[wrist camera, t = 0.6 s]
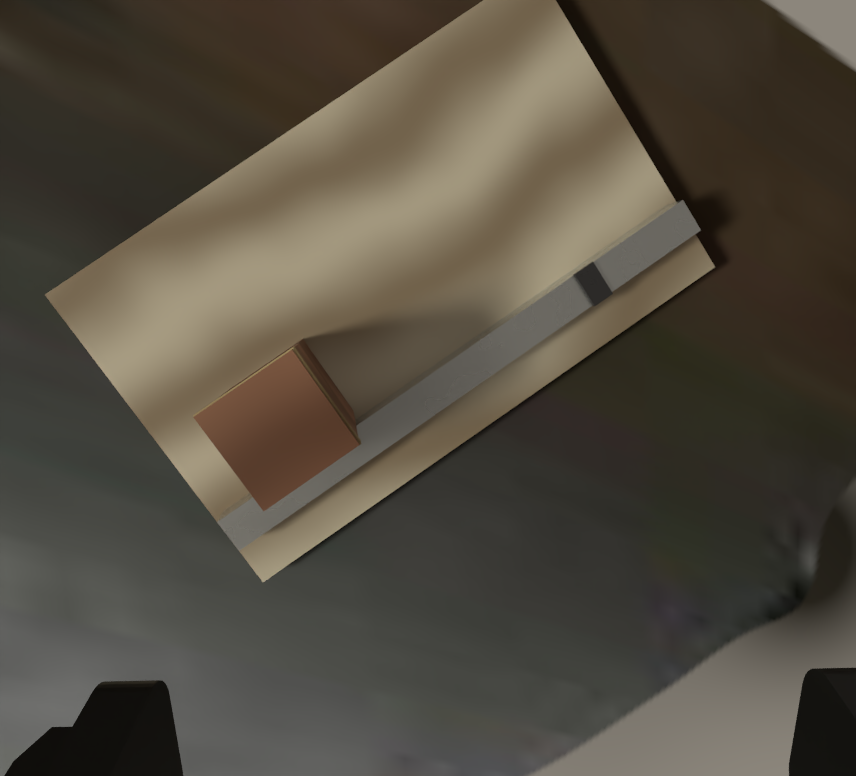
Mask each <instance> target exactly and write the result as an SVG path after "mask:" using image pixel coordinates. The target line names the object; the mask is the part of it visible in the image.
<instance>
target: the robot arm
mask: <svg viewBox="0 0 856 776" xmlns="http://www.w3.org/2000/svg"><path fill="white" fill-rule="evenodd" d="M5 776H183V771H182V765H181V759H180V753H179V747H178V742H177V736H176V730H175V724H174V718H173V712H172V707H171V701H170V695H169V691H168V688H167V685H166V684H165V683H164V682H163V681H114V682H101V683H100V684H98V686H97V687H96V688H95V689H94V691H93V692H92V694H91V695H90V697H89V699H88V701H87V702H86V704H85V706H84V708H83V709H82V711H81V713H80V715H79V716H78V718H77V720H76V722H75V723H74V725H73V727H52V728H51V729H49V730H48V731H47V732H46V733H45V734H44V735H43V736H42V737H40V738H39V739H38V740H37V741H36V742H35V743H34V744H33V745H31V746H30V747H29V748H28V749H27V750H26V751H25V752H24V753H22V754H21V755H20V756H19V757H18V758H17V759H16V760H15V761H13V763H12V765H11V766H10V768H9V769H8V771H7V773H6V774H5ZM789 776H856V668H827V669H826V668H825V669H824V668H823V669H811V670H809V671H808V672H807V674H806V675H805V677H804V681H803V684H802V691H801V696H800V702H799V708H798V714H797V720H796V726H795V732H794V738H793V744H792V749H791V755H790V762H789Z"/></svg>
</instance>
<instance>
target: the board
mask: <svg viewBox="0 0 856 776" xmlns="http://www.w3.org/2000/svg"><path fill="white" fill-rule="evenodd" d="M674 202H676V201H675V199H674V197H673V196H672V194H671V192H670V191H669V189H668V187H667V186H666V184H665V182H664V181H663V179H662V177H661V176H660V174H659V172H658V171H657V169H656V167H655V165H654V164H653V162H652V160H651V159H650V157H649V155H648V154H647V152H646V150H645V149H644V147H643V145H642V144H641V142H640V140H639V139H638V137H637V135H636V134H635V132H634V130H633V129H632V127H631V125H630V124H629V122H628V120H627V119H626V117H625V115H624V114H623V112H622V110H621V109H620V107H619V105H618V104H617V102H616V100H615V99H614V97H613V95H612V94H611V92H610V90H609V88H608V87H607V85H606V83H605V82H604V80H603V78H602V77H601V75H600V73H599V72H598V70H597V68H596V67H595V65H594V63H593V62H592V60H591V58H590V57H589V55H588V53H587V52H586V50H585V48H584V47H583V45H582V43H581V42H580V40H579V38H578V37H577V35H576V33H575V32H574V30H573V28H572V27H571V25H570V23H569V22H568V20H567V18H566V17H565V15H564V13H563V11H562V10H561V8H560V6H559V5H558V3H557V1H556V0H483V1H482V2H480V3H479V4H477V5H476V6H474V7H473V8H471V9H470V10H468V11H467V12H465V13H464V14H462V15H461V16H459V17H458V18H456V19H455V20H453V21H452V22H451V23H449V24H448V25H446V26H445V27H443V28H442V29H440V30H439V31H437V32H436V33H434V34H433V35H431V36H430V37H428V38H427V39H425V40H424V41H422V42H421V43H419V44H418V45H416V46H415V47H413V48H412V49H410V50H409V51H407V52H406V53H404V54H403V55H401V56H400V57H398V58H397V59H395V60H394V61H392V62H391V63H389V64H388V65H386V66H385V67H383V68H382V69H380V70H379V71H378V72H376V73H375V74H373V75H372V76H370V77H369V78H367V79H366V80H364V81H363V82H361V83H360V84H358V85H357V86H355V87H354V88H352V89H351V90H349V91H348V92H346V93H345V94H343V95H342V96H340V97H339V98H337V99H336V100H334V101H333V102H331V103H330V104H328V105H327V106H325V107H324V108H322V109H321V110H319V111H318V112H316V113H315V114H313V115H312V116H310V117H309V118H307V119H306V120H304V121H303V122H302V123H300V124H299V125H297V126H296V127H294V128H293V129H291V130H290V131H288V132H287V133H285V134H284V135H282V136H281V137H279V138H278V139H276V140H275V141H273V142H272V143H270V144H269V145H267V146H266V147H264V148H263V149H261V150H260V151H258V152H257V153H255V154H254V155H252V156H251V157H249V158H248V159H246V160H245V161H243V162H242V163H240V164H239V165H237V166H236V167H234V168H233V169H231V170H230V171H228V172H227V173H226V174H224V175H223V176H221V177H220V178H218V179H217V180H215V181H214V182H212V183H211V184H209V185H208V186H206V187H205V188H203V189H202V190H200V191H199V192H197V193H196V194H194V195H193V196H191V197H190V198H188V199H187V200H185V201H184V202H182V203H181V204H179V205H178V206H176V207H175V208H173V209H172V210H170V211H169V212H167V213H166V214H164V215H163V216H161V217H160V218H158V219H157V220H155V221H154V222H153V223H151V224H150V225H148V226H147V227H145V228H144V229H142V230H141V231H139V232H138V233H136V234H135V235H133V236H132V237H130V238H129V239H127V240H126V241H124V242H123V243H121V244H120V245H118V246H117V247H115V248H114V249H112V250H111V251H109V252H108V253H106V254H105V255H103V256H102V257H100V258H99V259H97V260H96V261H94V262H93V263H91V264H90V265H88V266H87V267H85V268H84V269H82V270H81V271H79V272H78V273H77V274H75V275H74V276H72V277H71V278H69V279H68V280H66V281H65V282H63V283H62V284H60V285H59V286H57V287H56V288H54V289H53V290H51V291H50V292H48V293H47V294H45V296H46V297H47V298H48V300H49V301H50V302H51V303H52V305H53V306H54V307H55V309H56V310H57V311H58V313H59V314H60V315H61V317H62V318H63V319H64V321H65V322H66V323H67V325H68V326H69V327H70V329H71V330H72V331H73V332H74V334H75V335H76V336H77V338H78V339H79V340H80V342H81V343H82V344H83V346H84V347H85V348H86V350H87V351H88V352H89V354H90V355H91V356H92V358H93V359H94V360H95V361H96V363H97V364H98V365H99V367H100V368H101V369H102V371H103V372H104V373H105V375H106V376H107V377H108V379H109V380H110V381H111V383H112V384H113V385H114V387H115V388H116V389H117V390H118V392H119V393H120V394H121V396H122V397H123V398H124V400H125V401H126V402H127V404H128V405H129V406H130V408H131V409H132V410H133V412H134V413H135V414H136V416H137V417H138V418H139V419H140V421H141V422H142V423H143V425H144V426H145V427H146V429H147V430H148V431H149V433H150V434H151V435H152V437H153V438H154V439H155V441H156V442H157V443H158V445H159V446H160V447H161V448H162V450H163V451H164V452H165V454H166V455H167V456H168V458H169V459H170V460H171V462H172V463H173V464H174V466H175V467H176V468H177V470H178V471H179V472H180V474H181V475H182V476H183V477H184V479H185V480H186V481H187V483H188V484H189V485H190V487H191V488H192V489H193V491H194V492H195V493H196V495H197V496H198V497H199V499H200V500H201V501H202V503H203V504H204V505H205V506H206V508H207V509H208V510H209V512H210V513H211V514H212V516H213V517H214V518H215V520H216V521H218V520H219V518H220V516H221V514H222V512H223V511H224V510H226V509H227V508H229V507H230V506H231V505H233V504H234V503H236V502H237V501H239V500H240V499H242V498H243V497H244V496H246V495H247V494H249V491H248V490H247V489H246V487H245V486H244V485H243V483H242V482H241V481H240V479H239V478H238V477H237V475H236V474H235V473H234V471H233V470H232V469H231V467H230V466H229V464H228V463H227V462H226V460H225V459H224V458H223V456H222V455H221V454H220V452H219V451H218V450H217V448H216V447H215V446H214V444H213V443H212V442H211V440H210V439H209V438H208V436H207V435H206V434H205V432H204V431H203V430H202V428H201V427H200V426H199V424H198V423H197V422H196V420H195V419H194V418H193V415H194V414H196V413H197V412H198V411H200V410H201V409H203V408H204V407H206V406H207V405H209V404H210V403H211V402H213V401H214V400H216V399H217V398H219V397H220V396H221V395H222V394H224V393H225V392H226V391H228V390H229V389H230V388H232V387H233V386H235V385H236V384H238V383H239V382H240V381H242V380H243V379H245V378H246V377H248V376H249V375H251V374H252V373H254V372H255V371H257V370H258V369H259V368H261V367H262V366H264V365H265V364H267V363H268V362H270V361H271V360H273V359H274V358H276V357H277V356H278V355H280V354H281V353H283V352H284V351H286V350H287V349H289V348H290V347H292V346H293V345H295V344H296V343H297V342H299V341H300V340H302V339H303V340H304V341H305V343H306V344H307V345H308V347H309V348H310V350H311V351H312V353H313V354H314V355H315V357H316V358H317V360H318V361H319V362H320V364H321V365H322V367H323V368H324V370H325V371H326V372H327V374H328V375H329V377H330V378H331V379H332V381H333V382H334V384H335V385H336V387H337V388H338V389H339V391H340V392H341V394H342V395H343V396H344V398H345V399H346V401H347V402H348V404H349V405H350V406H351V408H352V409H353V411H354V416H355V420H356V419H357V418H359V417H360V416H362V415H363V414H364V413H366V412H367V411H369V410H370V409H372V408H373V407H375V406H376V405H377V404H379V403H380V402H382V401H383V400H385V399H386V398H388V397H389V396H391V395H392V394H393V393H395V392H396V391H398V390H399V389H401V388H402V387H404V386H405V385H406V384H408V383H409V382H411V381H412V380H414V379H415V378H417V377H418V376H419V375H421V374H422V373H424V372H425V371H427V370H428V369H430V368H431V367H432V366H434V365H435V364H437V363H438V362H440V361H441V360H443V359H444V358H445V357H447V356H448V355H450V354H451V353H453V352H454V351H456V350H457V349H458V348H460V347H461V346H463V345H464V344H466V343H467V342H469V341H470V340H472V339H473V338H474V337H476V336H477V335H479V334H480V333H482V332H483V331H485V330H486V329H487V328H489V327H490V326H492V325H493V324H495V323H496V322H498V321H499V320H500V319H502V318H503V317H505V316H506V315H508V314H509V313H511V312H512V311H513V310H515V309H516V308H518V307H519V306H521V305H522V304H524V303H525V302H526V301H528V300H529V299H531V298H532V297H534V296H535V295H537V294H538V293H539V292H541V291H542V290H544V289H545V288H547V287H548V286H550V285H551V284H552V283H554V282H555V281H557V280H558V279H560V278H561V277H563V276H564V275H566V274H567V273H568V272H570V271H571V270H573V269H574V268H576V267H577V266H579V265H580V264H581V263H583V262H584V261H586V260H587V259H589V258H590V257H592V256H593V255H594V254H596V253H597V252H599V251H600V250H602V249H603V248H605V247H606V246H607V245H609V244H610V243H612V242H613V241H615V240H616V239H618V238H619V237H620V236H622V235H623V234H625V233H626V232H628V231H629V230H631V229H632V228H633V227H635V226H636V225H638V224H639V223H641V222H642V221H644V220H645V219H647V218H648V217H649V216H651V215H652V214H654V213H655V212H657V211H658V210H660V209H661V208H662V207H664V206H665V205H668V204H671V203H674ZM714 267H715V266H714V264H713V263H712V261H711V259H710V258H709V256H708V254H707V253H706V251H705V249H704V248H703V246H702V244H701V242H700V241H699V239H698V237H697V236H696V234H695V235H693V236H692V237H690V238H689V239H688V240H686V241H685V242H683V243H682V244H680V245H679V246H677V247H676V248H675V249H673V250H672V251H670V252H669V253H667V254H666V255H665V256H663V257H662V258H660V259H659V260H657V261H656V262H654V263H653V264H652V265H650V266H649V267H647V268H646V269H644V270H643V271H641V272H640V273H639V274H637V275H636V276H634V277H633V278H631V279H630V280H629V281H627V282H626V283H624V284H623V285H621V286H620V287H618V288H617V289H616V290H614V291H613V292H612V293H613V294H612V295H611V296H609V297H608V298H606V299H605V300H603V301H602V302H601V303H599V304H598V305H596V306H591V307H590V308H588V309H587V310H585V311H584V312H582V313H581V314H580V315H578V316H577V317H575V318H574V319H572V320H571V321H569V322H568V323H567V324H565V325H564V326H562V327H561V328H559V329H558V330H557V331H555V332H554V333H552V334H551V335H549V336H548V337H546V338H545V339H544V340H542V341H541V342H539V343H538V344H536V345H535V346H533V347H532V348H531V349H529V350H528V351H526V352H525V353H523V354H522V355H521V356H519V357H518V358H516V359H515V360H513V361H512V362H510V363H509V364H508V365H506V366H505V367H503V368H502V369H500V370H499V371H498V372H496V373H495V374H493V375H492V376H490V377H489V378H487V379H486V380H485V381H483V382H482V383H480V384H479V385H477V386H476V387H474V388H473V389H472V390H470V391H469V392H467V393H466V394H464V395H463V396H462V397H460V398H459V399H457V400H456V401H454V402H453V403H451V404H450V405H449V406H447V407H446V408H444V409H443V410H441V411H440V412H438V413H437V414H436V415H434V416H433V417H431V418H430V419H428V420H427V421H426V422H424V423H423V424H421V425H420V426H418V427H417V428H415V429H414V430H413V431H411V432H410V433H408V434H407V435H405V436H404V437H402V438H401V439H400V440H398V441H397V442H395V443H394V444H392V445H391V446H390V447H388V448H387V449H385V450H384V451H382V452H381V453H379V454H378V455H377V456H375V457H374V458H372V459H371V460H369V461H368V462H366V463H365V464H364V465H362V466H361V467H359V468H358V469H356V470H355V471H354V472H352V473H351V474H349V475H348V476H346V477H345V478H343V479H342V480H341V481H339V482H338V483H336V484H335V485H333V486H332V487H330V488H329V489H328V490H326V491H325V492H323V493H322V494H320V495H319V496H318V497H316V498H315V499H313V500H312V501H310V502H309V503H307V504H306V505H305V506H303V507H302V508H300V509H299V510H297V511H296V512H294V513H293V514H292V515H290V516H289V517H287V518H286V519H284V520H283V521H282V522H280V523H279V524H277V525H276V526H274V527H273V528H271V529H270V530H269V531H267V532H266V533H264V534H263V535H261V536H260V537H258V538H257V539H256V540H254V541H253V542H251V543H250V544H248V545H247V546H246V547H244V548H243V549H241V550H240V553H241V554H242V555H243V557H244V558H245V559H246V561H247V562H248V563H249V564H250V566H251V567H252V568H253V570H254V571H255V572H256V574H257V575H258V576H259V578H260V579H261V580H262V582H264V581H266V580H267V579H269V578H270V577H271V576H273V575H274V574H276V573H277V572H279V571H280V570H281V569H283V568H284V567H286V566H287V565H289V564H290V563H291V562H293V561H294V560H296V559H297V558H299V557H300V556H301V555H303V554H304V553H306V552H307V551H309V550H310V549H312V548H313V547H314V546H316V545H317V544H319V543H320V542H322V541H323V540H324V539H326V538H327V537H329V536H330V535H332V534H333V533H334V532H336V531H337V530H339V529H340V528H342V527H343V526H345V525H346V524H347V523H349V522H350V521H352V520H353V519H355V518H356V517H357V516H359V515H360V514H362V513H363V512H365V511H366V510H367V509H369V508H370V507H372V506H373V505H375V504H376V503H377V502H379V501H380V500H382V499H383V498H385V497H386V496H388V495H389V494H390V493H392V492H393V491H395V490H396V489H398V488H399V487H400V486H402V485H403V484H405V483H406V482H408V481H409V480H410V479H412V478H413V477H415V476H416V475H418V474H419V473H421V472H422V471H423V470H425V469H426V468H428V467H429V466H431V465H432V464H433V463H435V462H436V461H438V460H439V459H441V458H442V457H443V456H445V455H446V454H448V453H449V452H451V451H452V450H453V449H455V448H456V447H458V446H459V445H461V444H462V443H464V442H465V441H466V440H468V439H469V438H471V437H472V436H474V435H475V434H476V433H478V432H479V431H481V430H482V429H484V428H485V427H486V426H488V425H489V424H491V423H492V422H494V421H495V420H497V419H498V418H499V417H501V416H502V415H504V414H505V413H507V412H508V411H509V410H511V409H512V408H514V407H515V406H517V405H518V404H519V403H521V402H522V401H524V400H525V399H527V398H528V397H529V396H531V395H532V394H534V393H535V392H537V391H538V390H540V389H541V388H542V387H544V386H545V385H547V384H548V383H550V382H551V381H552V380H554V379H555V378H557V377H558V376H560V375H561V374H562V373H564V372H565V371H567V370H568V369H570V368H571V367H572V366H574V365H575V364H577V363H578V362H580V361H581V360H583V359H584V358H585V357H587V356H588V355H590V354H591V353H593V352H594V351H595V350H597V349H598V348H600V347H601V346H603V345H604V344H605V343H607V342H608V341H610V340H611V339H613V338H614V337H616V336H617V335H618V334H620V333H621V332H623V331H624V330H626V329H627V328H628V327H630V326H631V325H633V324H634V323H636V322H637V321H638V320H640V319H641V318H643V317H644V316H646V315H647V314H648V313H650V312H651V311H653V310H654V309H656V308H657V307H659V306H660V305H661V304H663V303H664V302H666V301H667V300H669V299H670V298H671V297H673V296H674V295H676V294H677V293H679V292H680V291H681V290H683V289H684V288H686V287H687V286H689V285H690V284H692V283H693V282H694V281H696V280H697V279H699V278H700V277H702V276H703V275H704V274H706V273H707V272H709V271H710V270H712V269H713V268H714Z"/></svg>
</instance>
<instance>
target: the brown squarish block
mask: <svg viewBox="0 0 856 776" xmlns="http://www.w3.org/2000/svg"><path fill="white" fill-rule="evenodd" d="M193 418H194V419H195V420H196V422H197V423H198V424H199V426H200V427H201V428H202V430H203V431H204V432H205V434H206V435H207V436H208V438H209V439H210V440H211V442H212V443H213V444H214V446H215V447H216V448H217V450H218V451H219V452H220V454H221V455H222V456H223V458H224V459H225V460H226V462H227V463H228V464H229V466H230V467H231V469H232V470H233V471H234V473H235V474H236V475H237V477H238V478H239V479H240V481H241V482H242V483H243V485H244V486H245V487H246V489H247V490H248V491H249V493H250V494H251V495H252V497H253V498H254V499H255V501H256V502H257V503H258V505H259V506H260V507H261V509H262V510H263V511H265V510H267V509H268V508H270V507H271V506H272V505H274V504H275V503H277V502H278V501H280V500H281V499H283V498H284V497H285V496H287V495H288V494H290V493H291V492H293V491H294V490H296V489H297V488H298V487H300V486H301V485H303V484H304V483H306V482H307V481H308V480H310V479H311V478H313V477H314V476H316V475H317V474H319V473H320V472H321V471H323V470H324V469H326V468H327V467H329V466H330V465H332V464H333V463H334V462H336V461H337V460H339V459H340V458H342V457H343V456H345V455H346V454H347V453H349V452H350V451H352V450H353V449H355V448H356V447H358V446H359V445H360V444H361V440H360V438H359V437H358V433H357V427H356V422H355V416H354V411H353V409H352V408H351V406H350V405H349V404H348V402H347V401H346V399H345V398H344V396H343V395H342V394H341V392H340V391H339V389H338V388H337V387H336V385H335V384H334V382H333V381H332V379H331V378H330V377H329V375H328V374H327V372H326V371H325V370H324V368H323V367H322V365H321V364H320V362H319V361H318V360H317V358H316V357H315V355H314V354H313V353H312V351H311V350H310V348H309V347H308V345H307V344H306V343H305V341H304V340H303V339H302V340H300V341H299V342H297V343H296V344H295V345H293V346H292V347H290V348H289V349H287V350H286V351H284V352H283V353H281V354H280V355H278V356H277V357H276V358H274V359H273V360H271V361H270V362H268V363H267V364H265V365H264V366H262V367H261V368H259V369H258V370H257V371H255V372H254V373H252V374H251V375H249V376H248V377H246V378H245V379H243V380H242V381H240V382H239V383H238V384H236V385H235V386H233V387H232V388H230V389H229V390H228V391H226V392H225V393H224V394H222V395H221V396H220V397H219V398H217V399H216V400H214V401H213V402H211V403H210V404H209V405H207V406H206V407H204V408H203V409H201V410H200V411H198V412H197V413H196V414H194V415H193Z"/></svg>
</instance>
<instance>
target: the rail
mask: <svg viewBox="0 0 856 776" xmlns="http://www.w3.org/2000/svg"><path fill="white" fill-rule="evenodd" d="M699 231H701V229H700V228H699V226H698V224H697V223H696V221H695V219H694V218H693V216H692V214H691V213H690V211H689V209H688V208H687V206H686V204H685V202H684V201H683V200H681V201H678V202H674V203H671V204H668V205H665V206H664V207H662V208H661V209H660V210H658V211H657V212H655V213H654V214H652V215H651V216H649V217H648V218H647V219H645V220H644V221H642V222H641V223H639V224H638V225H636V226H635V227H633V228H632V229H631V230H629V231H628V232H626V233H625V234H623V235H622V236H620V237H619V238H618V239H616V240H615V241H613V242H612V243H610V244H609V245H607V246H606V247H605V248H603V249H602V250H600V251H599V252H597V253H596V254H594V255H593V256H592V257H590V258H589V259H587V260H586V261H584V262H583V263H581V264H580V265H579V266H577V267H576V268H574V269H573V270H571V271H570V272H568V273H567V274H566V275H564V276H563V277H561V278H560V279H558V280H557V281H555V282H554V283H552V284H551V285H550V286H548V287H547V288H545V289H544V290H542V291H541V292H539V293H538V294H537V295H535V296H534V297H532V298H531V299H529V300H528V301H526V302H525V303H524V304H522V305H521V306H519V307H518V308H516V309H515V310H513V311H512V312H511V313H509V314H508V315H506V316H505V317H503V318H502V319H500V320H499V321H498V322H496V323H495V324H493V325H492V326H490V327H489V328H487V329H486V330H485V331H483V332H482V333H480V334H479V335H477V336H476V337H474V338H473V339H472V340H470V341H469V342H467V343H466V344H464V345H463V346H461V347H460V348H458V349H457V350H456V351H454V352H453V353H451V354H450V355H448V356H447V357H445V358H444V359H443V360H441V361H440V362H438V363H437V364H435V365H434V366H432V367H431V368H430V369H428V370H427V371H425V372H424V373H422V374H421V375H419V376H418V377H417V378H415V379H414V380H412V381H411V382H409V383H408V384H406V385H405V386H404V387H402V388H401V389H399V390H398V391H396V392H395V393H393V394H392V395H391V396H389V397H388V398H386V399H385V400H383V401H382V402H380V403H379V404H377V405H376V406H375V407H373V408H372V409H370V410H369V411H367V412H366V413H364V414H363V415H362V416H360V417H359V418H357V419H356V420H355V422H356V427H357V433H358V437H359V438H360V440H361V444H360V445H359V446H358V447H356V448H355V449H353V450H352V451H350V452H349V453H347V454H346V455H345V456H343V457H342V458H340V459H339V460H337V461H336V462H334V463H333V464H332V465H330V466H329V467H327V468H326V469H324V470H323V471H321V472H320V473H319V474H317V475H316V476H314V477H313V478H311V479H310V480H308V481H307V482H306V483H304V484H303V485H301V486H300V487H298V488H297V489H296V490H294V491H293V492H291V493H290V494H288V495H287V496H285V497H284V498H283V499H281V500H280V501H278V502H277V503H275V504H274V505H272V506H271V507H270V508H268V509H267V510H265V511H263V510H262V509H261V507H260V506H259V505H258V503H257V502H256V501H255V499H254V498H253V497H252V495H251V494H250V493H249V494H247V495H246V496H244V497H243V498H242V499H240V500H239V501H237V502H236V503H234V504H233V505H231V506H230V507H229V508H227V509H226V510H224V511H223V512H222V514H221V516H220V518H219V520H218V521H217V523H218V524H219V525H220V526H221V528H222V529H223V530H224V532H225V533H226V534H227V536H228V537H229V538H230V540H231V541H232V542H233V544H234V545H235V546H236V548H237V549H238V550H239V551H240V550H241V549H243V548H244V547H246V546H247V545H248V544H250V543H251V542H253V541H254V540H256V539H257V538H258V537H260V536H261V535H263V534H264V533H266V532H267V531H269V530H270V529H271V528H273V527H274V526H276V525H277V524H279V523H280V522H282V521H283V520H284V519H286V518H287V517H289V516H290V515H292V514H293V513H294V512H296V511H297V510H299V509H300V508H302V507H303V506H305V505H306V504H307V503H309V502H310V501H312V500H313V499H315V498H316V497H318V496H319V495H320V494H322V493H323V492H325V491H326V490H328V489H329V488H330V487H332V486H333V485H335V484H336V483H338V482H339V481H341V480H342V479H343V478H345V477H346V476H348V475H349V474H351V473H352V472H354V471H355V470H356V469H358V468H359V467H361V466H362V465H364V464H365V463H366V462H368V461H369V460H371V459H372V458H374V457H375V456H377V455H378V454H379V453H381V452H382V451H384V450H385V449H387V448H388V447H390V446H391V445H392V444H394V443H395V442H397V441H398V440H400V439H401V438H402V437H404V436H405V435H407V434H408V433H410V432H411V431H413V430H414V429H415V428H417V427H418V426H420V425H421V424H423V423H424V422H426V421H427V420H428V419H430V418H431V417H433V416H434V415H436V414H437V413H438V412H440V411H441V410H443V409H444V408H446V407H447V406H449V405H450V404H451V403H453V402H454V401H456V400H457V399H459V398H460V397H462V396H463V395H464V394H466V393H467V392H469V391H470V390H472V389H473V388H474V387H476V386H477V385H479V384H480V383H482V382H483V381H485V380H486V379H487V378H489V377H490V376H492V375H493V374H495V373H496V372H498V371H499V370H500V369H502V368H503V367H505V366H506V365H508V364H509V363H510V362H512V361H513V360H515V359H516V358H518V357H519V356H521V355H522V354H523V353H525V352H526V351H528V350H529V349H531V348H532V347H533V346H535V345H536V344H538V343H539V342H541V341H542V340H544V339H545V338H546V337H548V336H549V335H551V334H552V333H554V332H555V331H557V330H558V329H559V328H561V327H562V326H564V325H565V324H567V323H568V322H569V321H571V320H572V319H574V318H575V317H577V316H578V315H580V314H581V313H582V312H584V311H585V310H587V309H588V308H590V307H591V306H596V305H598V304H599V303H601V302H602V301H603V300H605V299H606V298H608V297H609V296H611V295H612V294H613V293H612V292H613V291H614V290H616V289H617V288H618V287H620V286H621V285H623V284H624V283H626V282H627V281H629V280H630V279H631V278H633V277H634V276H636V275H637V274H639V273H640V272H641V271H643V270H644V269H646V268H647V267H649V266H650V265H652V264H653V263H654V262H656V261H657V260H659V259H660V258H662V257H663V256H665V255H666V254H667V253H669V252H670V251H672V250H673V249H675V248H676V247H677V246H679V245H680V244H682V243H683V242H685V241H686V240H688V239H689V238H690V237H692V236H693V235H695V234H696V233H698V232H699Z"/></svg>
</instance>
